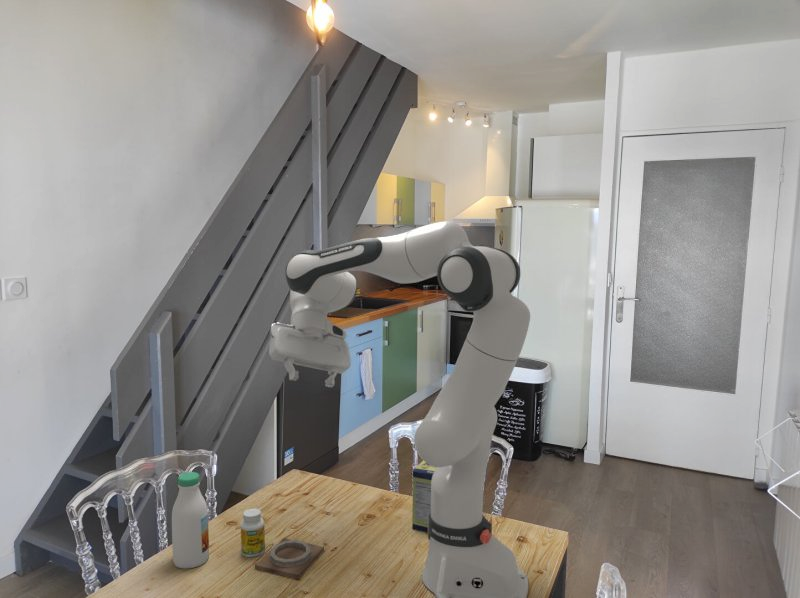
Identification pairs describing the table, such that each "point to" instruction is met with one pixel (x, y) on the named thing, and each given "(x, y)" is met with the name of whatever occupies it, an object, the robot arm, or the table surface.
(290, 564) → the collar board
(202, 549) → the milk bottle
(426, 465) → the protein box
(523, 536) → the table surface
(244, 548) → the supplement bottle
